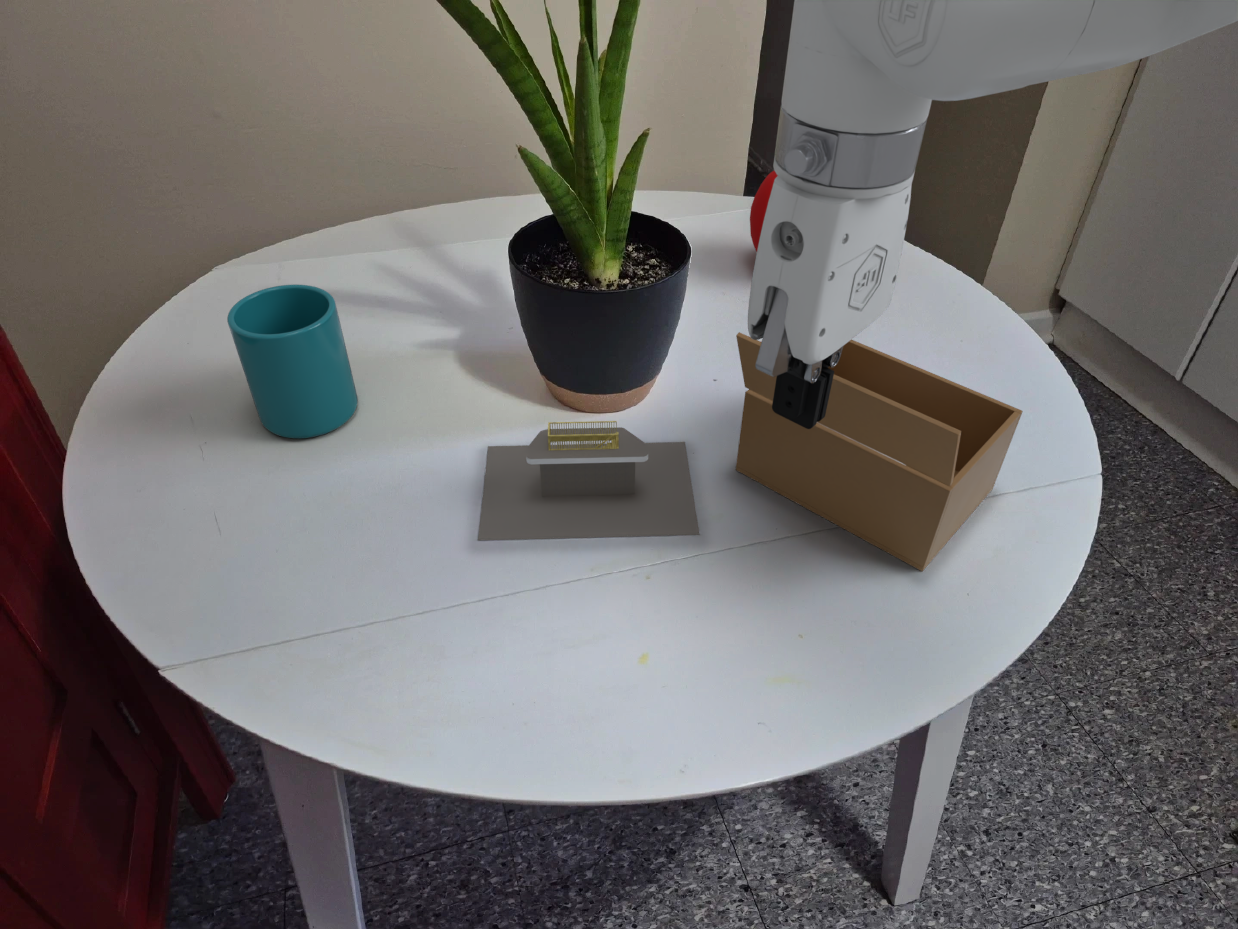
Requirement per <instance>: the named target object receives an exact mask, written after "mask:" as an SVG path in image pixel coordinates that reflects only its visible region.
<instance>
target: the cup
mask: <svg viewBox="0 0 1238 929" xmlns="http://www.w3.org/2000/svg"><path fill="white" fill-rule="evenodd" d="M227 325H228V328H229V331H230V334H231V337H232V340H233V344H234V346H235V350H236V352H237V355H238V358H239V362H240V365H241V366H242V367H241V368H242V371H243V373H244V377H245V379H246V382H247V386H248V389H249V391H250V394H251V398H252V401H253V404H254V407H255V410H256V412H257V415H258V419H259V421H260V423H261V424H262V426H263V427H264V428H265V429H266V430H267V431H268V432H270V433H272V434H274V435H277V436H278V437H283V438H288V439H310V438H315V437H319V436H323V435H326V434H328V433H331V432H333V431H335V430H337V429H339V428H341V427H342V426H343V425H345V424H346V423H348V421H349V420H350V419H351V418H352V417H353V415H354V414H355V412H356V410H357V407H358V403H359V401H358V400H359V399H358V394H357V393H358V392H357V389H356V384H355V381H354V375H353V371H352V368H351V367H352V366H351V363H350V360H349V354H348V351H347V346H346V342H345V338H344V337H345V336H344V333H343V329H342V325H341V321H340V316H339V312H338V308H337V303H336V301H335V298H334V297H333V296H332V295H331V293H330V292H328V291H327V290H325V289H323V288H320V287H318V286H315V285H307V284H282V285H276V286H270V287H266V288H264V289H260V290H257V291H255V292H252V293H250V294H247V295H246V296H245V297H243V298H241V299H239V301H237V302H236V303H235V304H234V305H233V306H232V307H231V308H230V310H229V312H228V313H227Z"/></svg>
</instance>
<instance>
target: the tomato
mask: <svg viewBox="0 0 1238 929" xmlns="http://www.w3.org/2000/svg"><path fill="white" fill-rule="evenodd" d="M777 176H778V175H777V174H776V172H775V171H774V170H773V171H771V172H770V173H768V174H767V175H766V177H765V178H764V180H762V183H760V186H759V187H758V189H757V191H756V193H755V195H754V197H753V200H752V203H751V206H750V213H749V229H750V230H749V231H750V232H749V233H750V238H751V241H752V245H753V248H754V249H755V252H756V253H757V249H758V244H759V240H760V235H761V231H762V226H763V222H764V217H765V213H766V209H767V205H768V201H769V198H770V195H771V191H772V187H773V184H774V180H775V178H776V177H777Z"/></svg>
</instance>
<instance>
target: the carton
mask: <svg viewBox="0 0 1238 929" xmlns="http://www.w3.org/2000/svg"><path fill="white" fill-rule="evenodd" d="M828 368H829V369H831V370H833V371H834V375H836V376H839V377H841V378H843V379H845V380H848V381H850V382H852V383H854V384H857V385H859V386H861V387H863V388H866V389H868V390H870V391H872V392H875V393H877V394H879V395H881V396H884V397H886V398H888V399H890V400H893V401H895V402H897V403H899V404H902V405H904V406H906V407H908V408H911V409H913V410H915V411H917V412H920V413H922V414H924V415H926V416H929V417H931V418H933V419H935V420H938V421H940V422H942V423H944V424H947V425H949V426H951V427H953V428H956V429H958V430H960V431H961V436H960V442H959V448H958V454H957V460H956V466H955V472H954V478H953V483H952V484H951V486H949V485H947V484H945V483H943V482H941V481H938V480H936V479H934V478H932V477H930V476H928V475H926V474H924V473H922V472H920V471H918V470H916V469H914V468H911V467H909V466H907V465H903V464H901V463H899V462H897V461H895V460H893V459H891V458H889V457H887V456H885V455H883V454H881V453H879V452H877V451H875V450H872V449H870V448H868V447H866V446H864V445H862V444H860V443H858V442H856V441H854V440H852V439H850V438H848V437H846V436H843V435H841V434H839V433H837V432H835V431H833V430H831V429H829V428H827V427H825V426H823V425H821V424H819V423H816V425H815V426H813V427H812V428H811V429H806V428H804V427H802V426H800V425H798V424H796V423H794V422H792V421H790V420H788V419H786V418H784V417H782V416H780V415H778V414H776V413H775V412H774V411H773V410H772V403H773V400H771V399H768V398H766V397H764V396H762V395H760V394H758V393H756V392H754V391H752V390H750V389H747V390H746V391H745V393H744V400H743V409H742V414H741V415H742V416H741V423H740V430H739V440H738V448H737V456H736V462H735V464H736V465H735V470H736V471H737V472H739V473H740V474H742V475H744V476H746V477H748V478H749V479H752V480H753V481H755V482H757V483H759V484H761V485H763V487H766V488H768V489H770V490H771V491H773V492H775V493H777V494H779V495H781V496H783V497H784V498H786V499H788V500H790V501H792V502H793V503H795V504H797V505H799V506H802V507H803V508H805V509H807V511H810V512H812V513H814V514H816V515H818V516H819V517H821V518H823V519H825V520H827V521H829V522H830V523H832V524H834V525H835V526H837V527H839V528H841V529H843V530H845V531H847V532H849V533H851V534H853V535H854V536H856V537H858V538H860V539H862V540H864V541H865V542H867V543H868V544H871V545H872V546H874V547H876V548H878V549H880V550H882V551H883V552H885V553H887V554H889V555H892V556H893V557H895V558H896V559H899V561H902V562H904V563H905V564H907V565H910V566H911V567H913V568H915V569H917V570H919V571H920V572H923V571H924V570H925V569H926V568H927V567H928V565H929V564H931V563H932V561H933V560H934V558H936V556H937V555H938V554H939V553H940V552H941V550H943V548H944V547H945V546H946V544H948V543H949V541H950V540H951V539H952V538H953V536H954V535H955V534H956V533H957V532H958V530H959V529H960V528H961V527H962V526H963V525H964V523H965V522H966V521H967V520H968V519H969V518H970V517H971V515H973V513H974V512H975V511H976V510H977V508H978V507H979V506H980V505H981V503H982V502H983V501H984V500H985V499H986V497H988V495H989V494H990V493H991V492H992V491H993V489H994V487H995V484H996V481H997V479H998V476H999V474H1000V472H1001V468H1002V466H1003V464H1004V461H1005V459H1006V456H1007V453H1008V451H1009V448H1010V446H1011V443H1012V440H1013V437H1014V435H1015V434H1016V433H1015V432H1016V430H1017V428H1018V426H1019V422H1020V420H1021V418H1022V415H1023V410H1022V409H1019V408H1017V407H1015V406H1012V405H1010V404H1007V403H1005V402H1003V401H1000V400H998V399H995V398H993V397H991V396H989V395H986V394H984V393H982V392H979V391H977V390H974V389H972V388H969V387H967V386H964V385H962V384H959V383H958V382H955V381H952V380H950V379H947V378H945V377H943V376H940V375H938V374H935V373H933V372H930V371H929V370H926V369H924V368H922V367H919V366H916V365H915V364H914V365H913V364H911V363H909V362H907V361H904V360H902V359H900V358H897V357H894V356H892V355H890V354H887V353H885V352H883V351H880V350H878V349H876V348H873V347H871V346H868V345H867V344H863V343H861V342H859V341H856V340H854V339H851V340H850V341H849V342H847V343H846V344H845V345H844V346H843V350H842V353H841V357H840V360H839V362H838V363H837V365H836V366H835V367H833V368H832V367H828Z"/></svg>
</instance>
